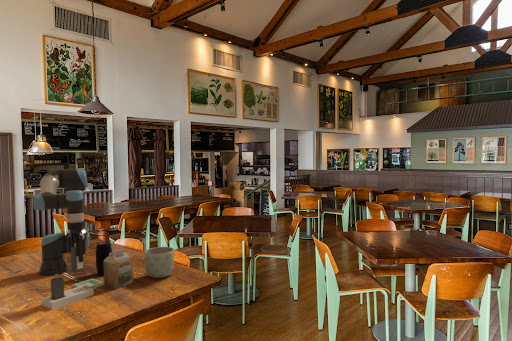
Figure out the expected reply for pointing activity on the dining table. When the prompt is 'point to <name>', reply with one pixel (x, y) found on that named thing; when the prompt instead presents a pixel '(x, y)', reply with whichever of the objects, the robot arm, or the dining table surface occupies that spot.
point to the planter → (159, 261)
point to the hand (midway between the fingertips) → (77, 267)
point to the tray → (89, 283)
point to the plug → (74, 260)
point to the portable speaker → (102, 255)
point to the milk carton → (118, 269)
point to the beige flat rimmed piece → (68, 297)
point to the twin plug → (57, 287)
